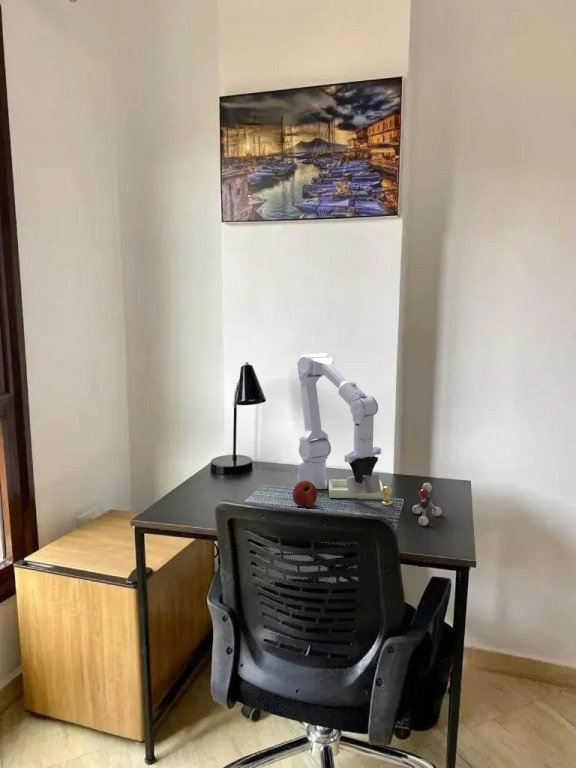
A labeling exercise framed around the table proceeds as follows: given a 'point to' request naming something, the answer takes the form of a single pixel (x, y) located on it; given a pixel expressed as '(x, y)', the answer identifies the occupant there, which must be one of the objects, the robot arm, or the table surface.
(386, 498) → the door knob
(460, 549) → the table surface
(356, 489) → the strut
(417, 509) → the molecular model
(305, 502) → the apple
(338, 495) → the tray
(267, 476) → the table surface
